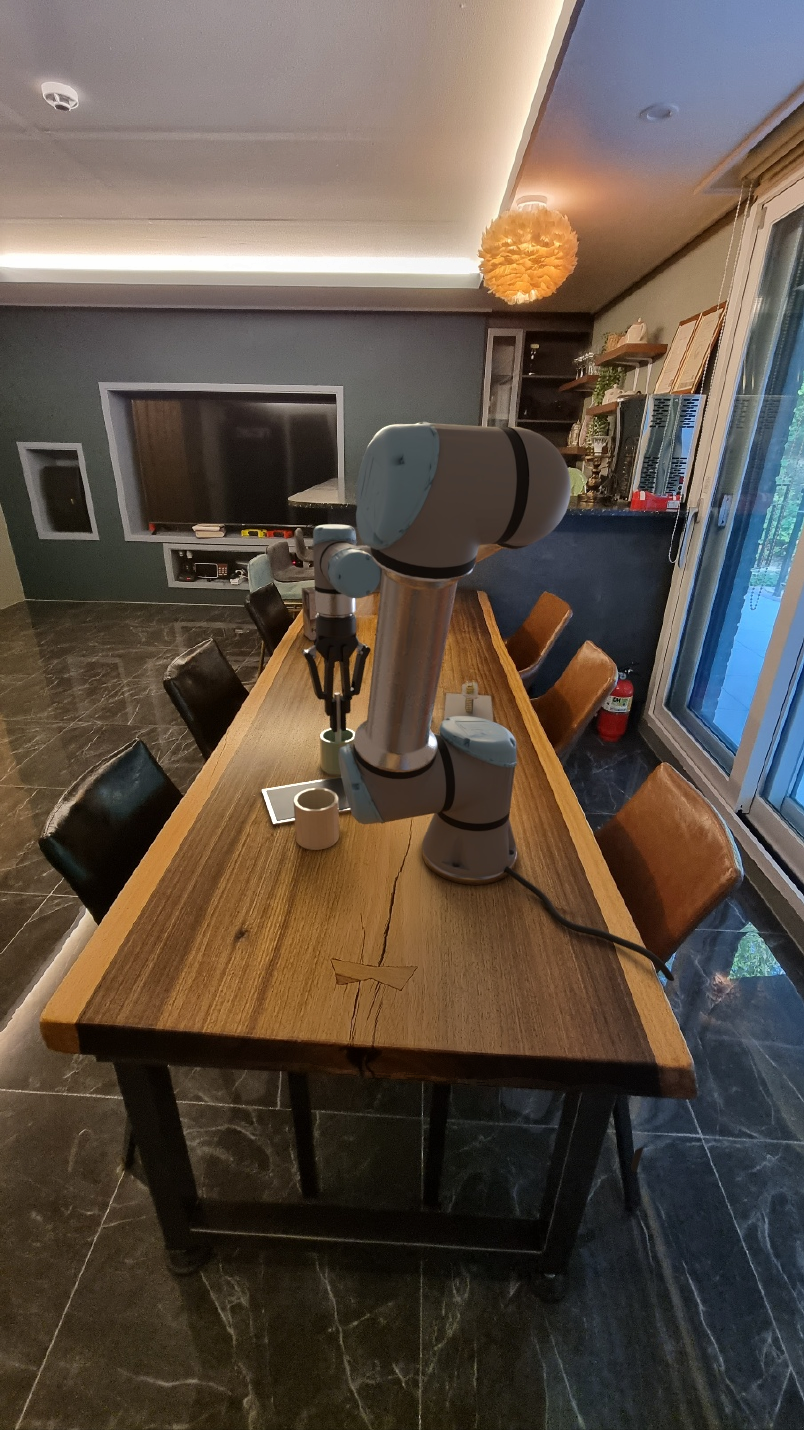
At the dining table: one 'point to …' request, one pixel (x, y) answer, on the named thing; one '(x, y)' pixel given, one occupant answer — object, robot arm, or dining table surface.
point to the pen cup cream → (316, 818)
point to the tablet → (283, 797)
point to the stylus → (338, 717)
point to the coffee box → (309, 612)
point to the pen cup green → (333, 749)
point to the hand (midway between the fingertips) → (338, 728)
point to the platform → (468, 703)
